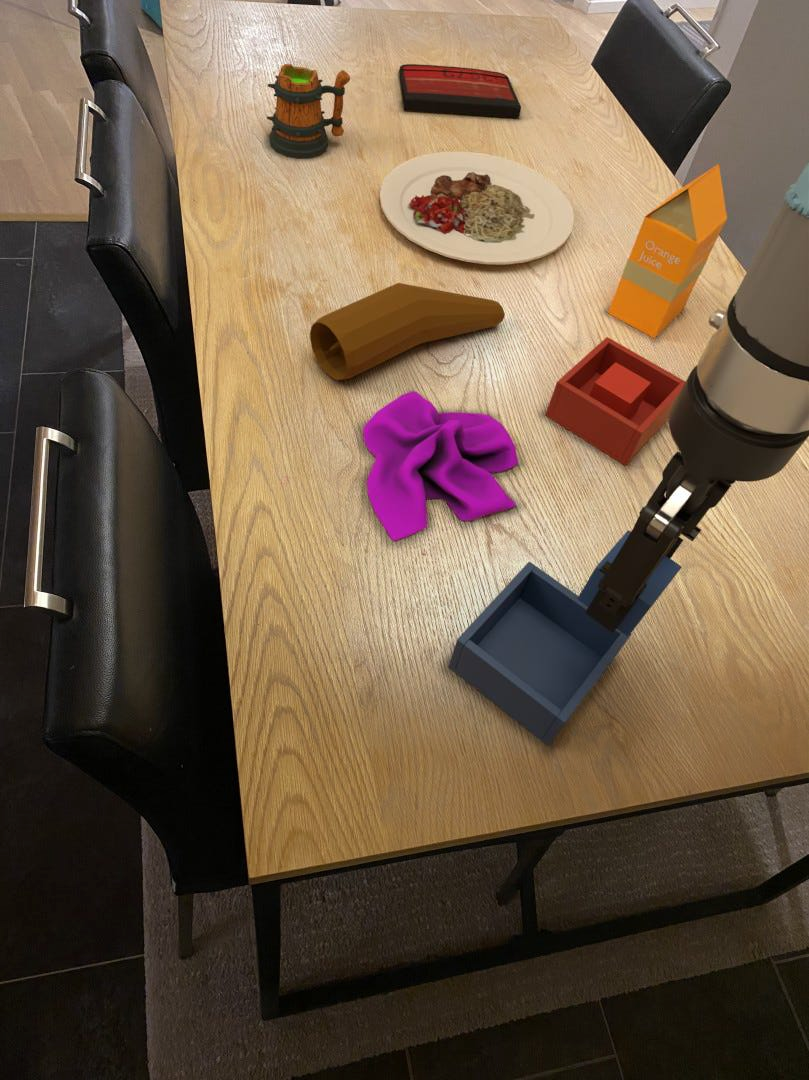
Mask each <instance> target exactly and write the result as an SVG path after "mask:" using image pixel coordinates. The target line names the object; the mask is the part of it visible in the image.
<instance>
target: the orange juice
mask: <svg viewBox="0 0 809 1080" xmlns="http://www.w3.org/2000/svg"><path fill="white" fill-rule="evenodd" d="M726 209H727V208H726V203H725V195H724V189H723V183H722V176H721V169H720V163H717V164H716V165H714V166H713V167H711V168H710V169H708V170H707V171H705V172H704V173H702V174H701V175H699V176H697V177H696V178H695V179H693V180H692V181H689V182H688V183H686V185H684V186H683V187H681V188H680V189H678V190H677V191H675V192H673V193H672V194H671V195H670V196H668V197H667V198H666V199H665V200H664V201H662V202H660V204H659V205H657V206H656V207H654V209H652V210H651V211H650V212H648V213H647V214H646V215H645V216H644V218H643V221H642V223H641V226H640V228H639V230H638V233H637V236H636V239H635V241H634V244H633V246H632V249H631V252H630V253H629V254H630V255H629V256H628V259H627V261H626V263H625V265H624V269H623V271H622V274H621V278H620V280H619V283H618V285H617V288H616V290H615V292H614V296H613V297H612V301H611V303H610V306H609V308H608V311H607V314H609V315H611V316H612V317H614V318H616V319H618V320H620V321H622V322H623V323H625V324H627V325H629V326H630V327H632V328H634V329H635V330H638V331H640V332H641V333H643V334H645V335H647V336H649V337H651V338H652V339H655V338H656V337H657V336H659V335H660V333H661V332H662V331H663V330H664V329H665V328H667V326H668V325H669V324H670V323H672V321H673V320H675V318H677V317H678V315H680V314H681V312H683V310H684V308H685V306H686V304H687V303H688V300H689V297H690V296H691V294H692V291H693V290H694V287H695V285H696V283H697V282H698V279H699V277H700V276H701V273H702V272H703V270H704V268H705V265H706V264H707V261H708V259H709V257H710V254H711V252H712V250H713V248H714V246H715V244H716V242H717V239H718V238H719V235H720V234H721V231H722V230H723V227H724V225H725V223H726V221H727V220H728V215H727V210H726Z"/></svg>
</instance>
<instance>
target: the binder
mask: <svg viewBox="0 0 809 1080" xmlns="http://www.w3.org/2000/svg"><path fill="white" fill-rule="evenodd" d="M398 75H399V77H398V78H399V82H400V90H401V91H400V92H401V98H402V99H401V100H402V107H403V111H407V112H409V111H410V112H418V113H419V112H420V113H430V114H431V113H433V114H445V115H446V114H447V115H463V116H465V115H466V116H477V117H492V118H493V117H494V118H506V119H508V118H509V119H519V118H520V116H521V115H520V114H521V112H522V111H521V110H522V105H521V104H520V101H519V99H518V97H517V94H516V93H515V91H514V88H513V85H512V83H511V80H510V79H509V77H508V75H507V74H505V73H503V72H499V71H494V70H493V71H492V70H487V69H481V68H480V69H479V68H471V67H460V66H449V65H448V66H447V65H446V66H445V65H434V64H418V63H417V64H415V63H407V64H402V65H400V66H399V69H398Z"/></svg>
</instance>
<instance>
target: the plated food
mask: <svg viewBox="0 0 809 1080" xmlns="http://www.w3.org/2000/svg"><path fill="white" fill-rule="evenodd" d="M380 185H381V186H380V192H379V201H380V206H381V210H382V211H383V214H384V215H385V217H386V219H387V221H388V222H389V223H390V224H391V225H392V227H394V228H395V230H397V232H399V233H400V234H401V235H403V236H404V237H405V238H407V239H408V240H409V241H411V242H412V243H414V244H416V245H418V246H420V247H422V248H424V249H425V250H428V251H431V252H432V253H433V252H434V253H436V254H438V255H441V256H443V257H446V258H449V259H454V260H458V261H462V262H466V263H473V264H481V265H513V264H514V265H515V264H521V263H527V262H531V261H534V260H538V259H542V258H544V257H546V256H547V255H550V254H552V253H554V252H555V251H557V250H559V248H561V247H562V246H563V245H565V243H566V242H567V240H568V239H569V238H570V236H571V235H572V232H573V229H574V224H575V214H574V209H573V205H572V204H571V201H570V200H569V198H568V197H567V195H566V194H565V193H564V191H562V189H561V188H560V187H559V186H558V185H557V184H555V183H554V182H553V181H552V180H551V179H549V178H548V177H546V176H545V175H543V174H542V173H540V172H538V171H537V170H535V169H533V168H530V167H528V166H526V165H525V164H522V163H519V162H516V161H515V160H511V159H508V158H505V157H502V156H497V155H493V154H488V153H482V152H474V151H459V150H458V151H456V150H452V151H437V152H431V153H426V154H422V155H418V156H415V157H412V158H410V159H407V160H405V161H403V162H401V163H400V164H398V165H396V166H394V167H393V168H392V169H391V171H390V172H389V173H388V174H386V176H385V177H384V179H383V181H382V183H381V184H380Z"/></svg>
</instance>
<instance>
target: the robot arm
mask: <svg viewBox="0 0 809 1080" xmlns="http://www.w3.org/2000/svg"><path fill="white" fill-rule="evenodd" d="M783 201H784V202H783V203H782V205H781V207H780V209H779V211H778V213H777V215H776V216H775V217H774V220H773V222H772V223H771V225H770V228H769V230H768V231H767V233H766V235H765V238H764V239H763V241H762V243H761V245H760V246H759V249H758V250H757V252H756V254H755V256H754V258H753V260H752V262H751V264H750V266H749V267H748V270H747V272H746V273H745V275H744V277H743V279H742V281H741V283H740V284H739V286H738V288H737V290H736V292H735V293H734V295H733V296H732V298H731V300H730V301H729V304H728V307H727V309H726V310H725V311H724V310H722V309H716V310H714V311H713V312H712V313H711V314H710V315H709V318H708V324H709V326H711V327H712V328H714V329H715V330H717V331H716V332H715V333H713V335H712V336H711V337H710V339H709V340H708V342H707V345H706V346H705V348H704V350H703V352H702V353H701V355H700V357H699V359H698V362H697V364H696V365H695V366H694V367H693V368H692V369H691V371H690V373H689V375H688V377H687V378H686V380H685V384H684V386H683V387H682V389H681V391H680V393H679V395H678V396H677V398H676V400H675V402H674V404H673V405H672V407H671V410H670V413H669V419H668V428H669V433H670V435H671V438H672V440H673V442H674V443H675V445H676V446H677V449H678V450H679V451H676V452H675V453H674V455H673V456H672V457H671V459H670V460H669V461H668V463H667V465H666V466H665V468H663V471H662V475H661V476H662V479H661V481H660V482H659V484H658V485H657V486H656V488H655V490H654V491H653V493H652V494H651V496H650V497H649V499H648V501H647V502H646V504H645V506H643V507H642V508H641V509H640V511H639V513H638V514H639V515H638V517H637V519H636V521H635V523H634V525H633V527H632V529H631V530H630V531H631V533H630V534H629V536H628V538H627V539H626V541H625V543H624V544H623V546H622V548H621V549H620V551H619V552H618V554H617V556H616V557H615V559H614V561H613V562H612V564H611V563H610V562H609V561H606V562H605V563H604V564H603V566H602V567H601V568H600V569H599V571H600V572H601V573H603V574H604V575H605V576H604V577H602V578H601V579H600V581H599V584H598V588H599V591H598V592H597V594H596V596H595V597H594V599H593V600H592V602H591V604H590V605H589V607H588V609H587V610H586V612H585V613H586V614H587V615H589V616H590V617H592V618H593V619H594V620H596V621H597V622H598V623H600V624H601V625H602V626H604V627H605V628H606V629H608V630H609V631H611V632H612V633H614V631H615V630H616V629H617V628H618V626H619V625H620V623H621V622H622V621H623V619H624V618H625V616H626V615H627V613H628V612H629V611H630V609H631V608H632V606H633V605H634V603H635V602H636V601H637V599H638V598H639V596H640V595H641V594H642V592H643V591H644V589H645V588H646V586H647V584H646V582H647V581H648V579H649V578H650V577H651V575H652V574H653V572H654V571H655V570H656V568H657V567H658V566H659V564H660V563H661V561H662V560H663V559H664V557H665V556H667V557H668V558H670V559H672V558H673V556H674V555H675V553H676V552H677V550H678V548H680V546H681V544H682V543H683V541H684V539H683V538H682V537H680V536H681V535H682V536H683V537H685V538H686V539H688V540H690V541H691V542H694V541H695V539H696V538H697V537H698V535H699V534H700V533H701V531H702V529H701V528H700V527H699V526H698V525H699V524H700V522H701V521H702V519H703V518H704V517H705V515H707V513H708V512H709V510H710V509H712V508H715V507H716V506H717V505H718V504H719V503H720V501H722V499H723V498H724V497H725V495H726V493H727V492H728V491H729V490H730V489H731V487H732V485H734V484H735V483H736V482H745V483H749V482H752V483H753V482H759V481H763V480H767V479H769V478H772V477H774V476H775V475H777V474H779V473H780V471H782V470H783V469H785V467H786V466H787V464H788V463H789V462H790V461H791V459H792V458H793V457H794V455H796V453H797V452H798V451H799V449H800V448H801V447H802V445H803V444H804V443H805V442H806V441H807V439H808V438H809V161H808V162H807V164H806V165H805V167H804V169H803V171H802V172H801V173H800V175H799V177H798V178H797V180H796V182H795V183H792V184H791V185H790V186H789V188H788V189H787V191H786V192H785V195H784V199H783Z"/></svg>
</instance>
